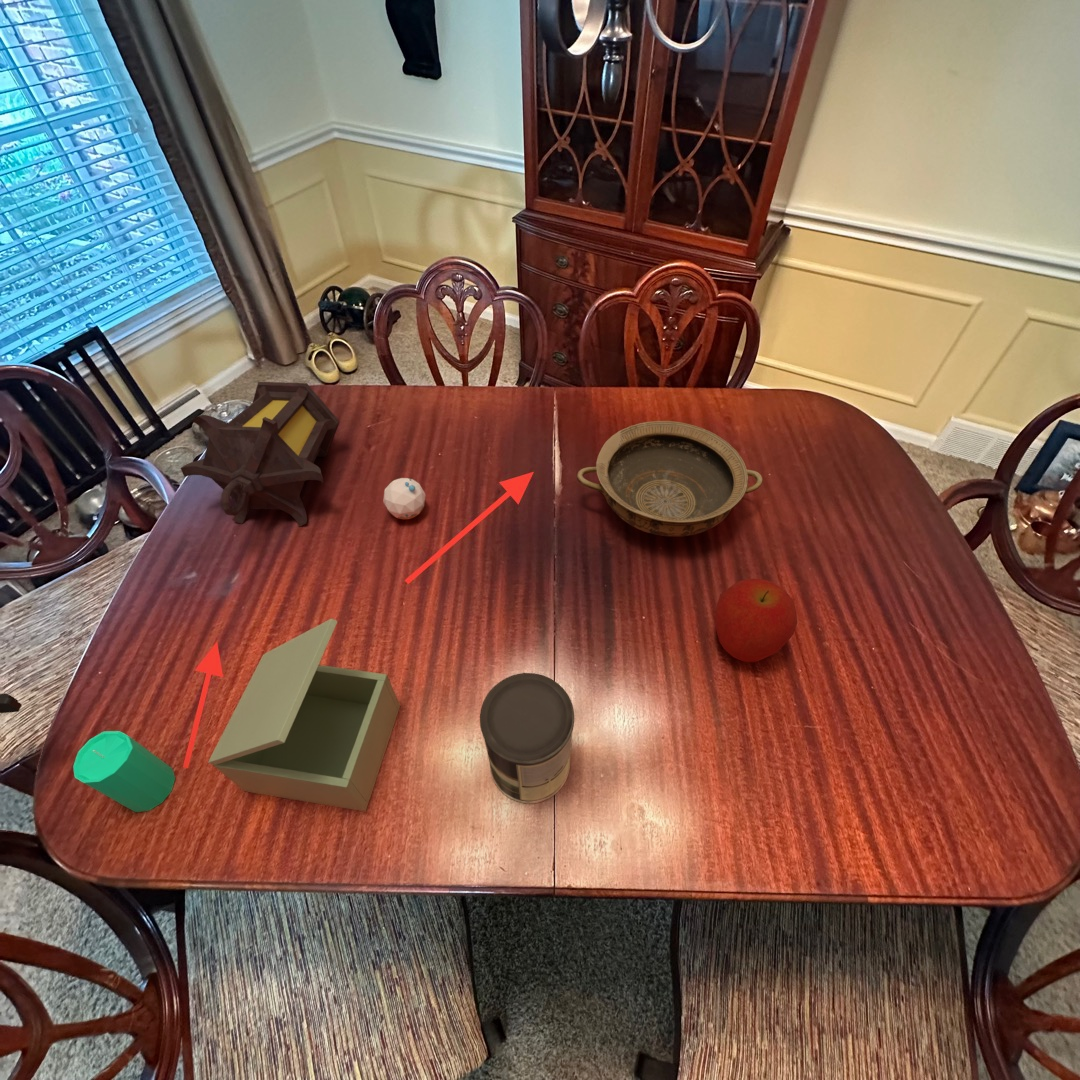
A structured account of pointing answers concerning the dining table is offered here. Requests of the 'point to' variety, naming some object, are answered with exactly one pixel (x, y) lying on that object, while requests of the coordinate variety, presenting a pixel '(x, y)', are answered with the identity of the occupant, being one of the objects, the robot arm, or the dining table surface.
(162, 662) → the dining table surface
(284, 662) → the lid
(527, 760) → the coffee can
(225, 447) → the lantern
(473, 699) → the dining table surface
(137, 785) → the candle
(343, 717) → the chest
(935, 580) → the dining table surface
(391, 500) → the ornament
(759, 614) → the apple
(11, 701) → the robot arm
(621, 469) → the ceramic bowl
